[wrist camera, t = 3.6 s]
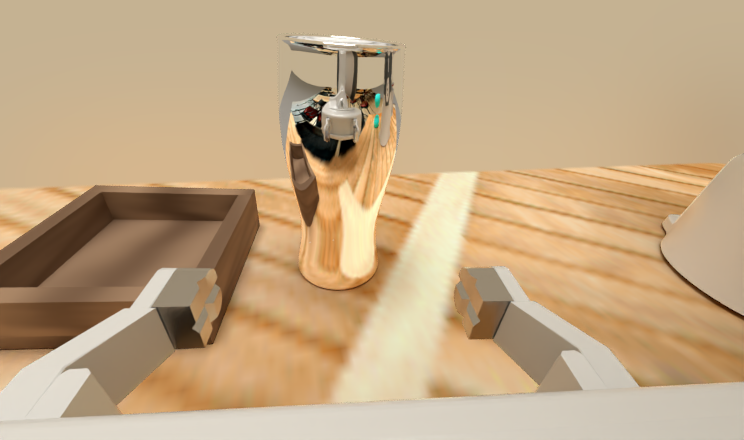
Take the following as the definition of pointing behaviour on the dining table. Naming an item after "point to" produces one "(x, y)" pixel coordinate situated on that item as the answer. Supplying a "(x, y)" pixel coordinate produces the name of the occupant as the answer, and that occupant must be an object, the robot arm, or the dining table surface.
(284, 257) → the dining table surface
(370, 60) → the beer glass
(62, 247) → the walnut tray
